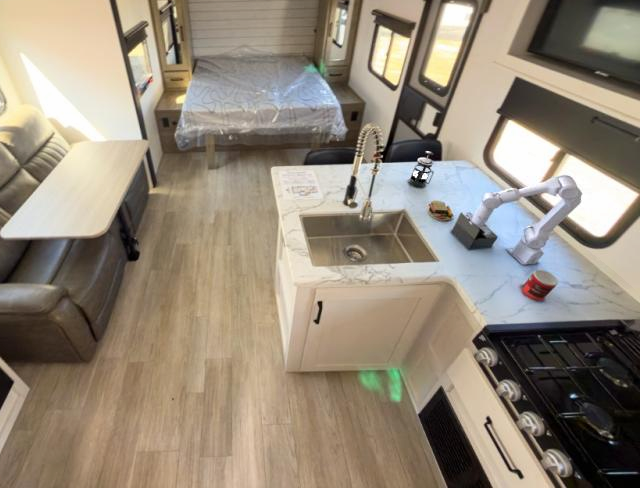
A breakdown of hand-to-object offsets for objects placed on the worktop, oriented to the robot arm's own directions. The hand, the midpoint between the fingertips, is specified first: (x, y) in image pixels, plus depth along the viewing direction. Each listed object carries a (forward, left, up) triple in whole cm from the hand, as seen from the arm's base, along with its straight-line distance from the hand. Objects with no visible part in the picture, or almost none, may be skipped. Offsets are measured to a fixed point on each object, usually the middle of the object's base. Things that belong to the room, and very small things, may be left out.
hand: (470, 235), depth 160 cm
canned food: (-33, -6, -4) cm, 33 cm away
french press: (+50, -4, -4) cm, 51 cm away
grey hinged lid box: (+1, -3, -4) cm, 5 cm away
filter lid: (+1, +3, +6) cm, 7 cm away
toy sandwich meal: (+21, +1, -4) cm, 22 cm away
